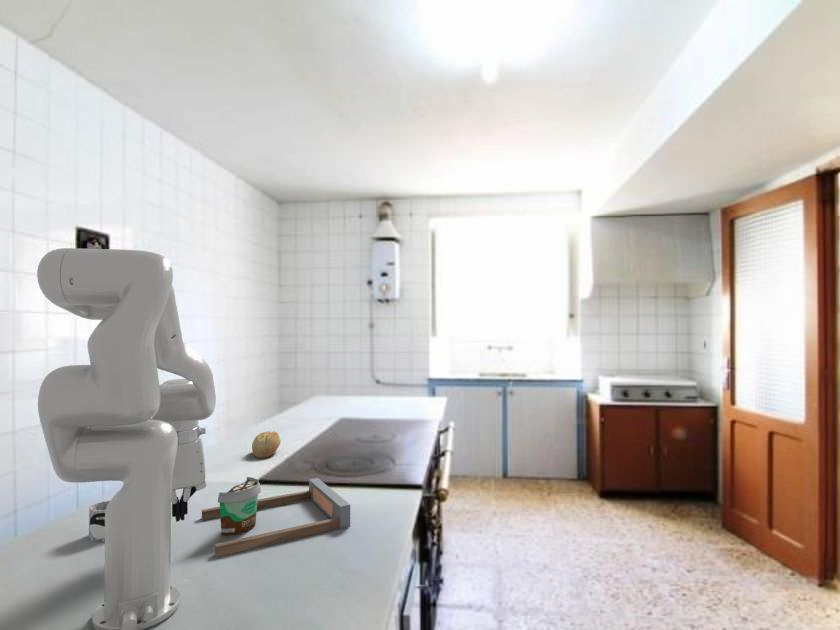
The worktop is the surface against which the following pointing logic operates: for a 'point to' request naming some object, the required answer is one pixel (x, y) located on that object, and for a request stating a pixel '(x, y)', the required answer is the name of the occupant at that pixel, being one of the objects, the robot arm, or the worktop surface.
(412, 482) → the worktop surface
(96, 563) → the worktop surface
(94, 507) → the mug
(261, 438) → the bread roll
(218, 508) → the guide track
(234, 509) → the food container
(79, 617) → the worktop surface
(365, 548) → the worktop surface
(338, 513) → the end stop
